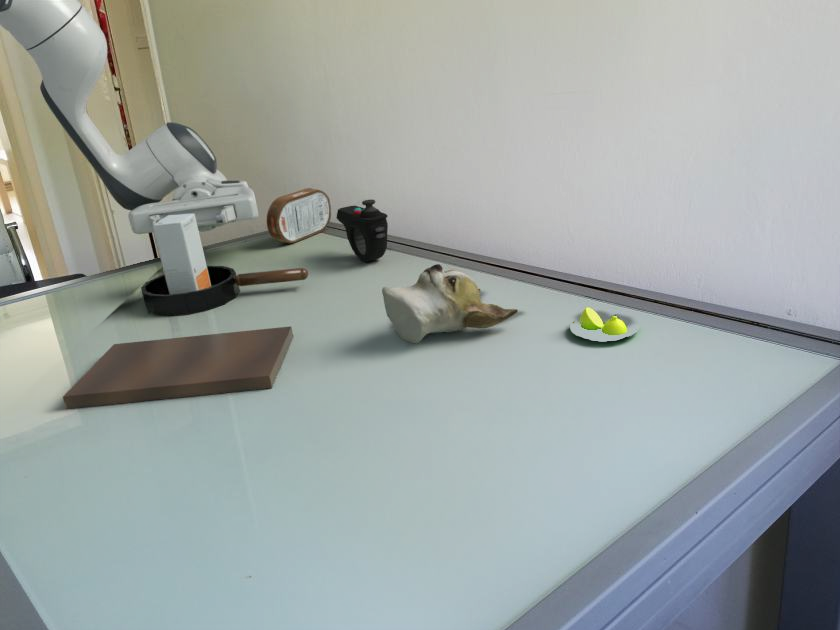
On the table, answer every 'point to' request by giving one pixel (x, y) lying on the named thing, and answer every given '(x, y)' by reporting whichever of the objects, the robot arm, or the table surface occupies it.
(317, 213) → the tin
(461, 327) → the ceramic sculpture
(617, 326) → the lemon
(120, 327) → the table surface
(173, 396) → the cutting board
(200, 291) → the pan
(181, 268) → the cosmetic box
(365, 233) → the controller
